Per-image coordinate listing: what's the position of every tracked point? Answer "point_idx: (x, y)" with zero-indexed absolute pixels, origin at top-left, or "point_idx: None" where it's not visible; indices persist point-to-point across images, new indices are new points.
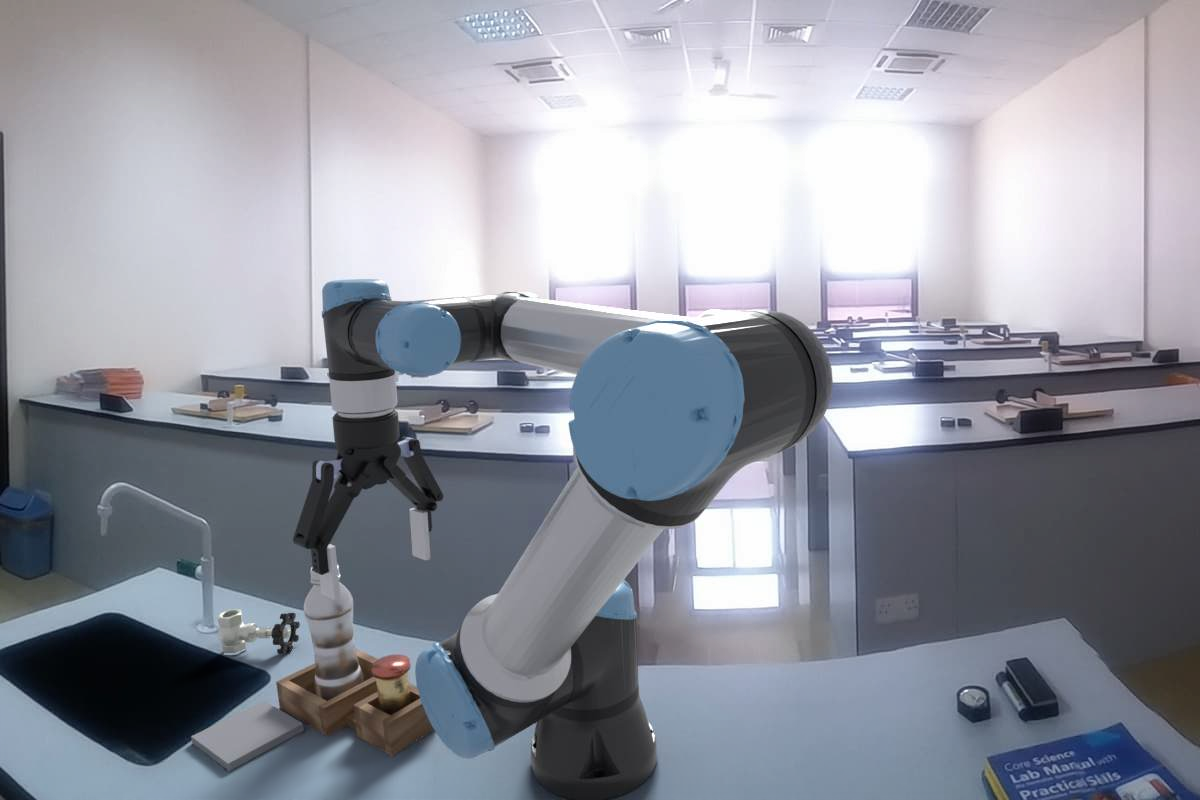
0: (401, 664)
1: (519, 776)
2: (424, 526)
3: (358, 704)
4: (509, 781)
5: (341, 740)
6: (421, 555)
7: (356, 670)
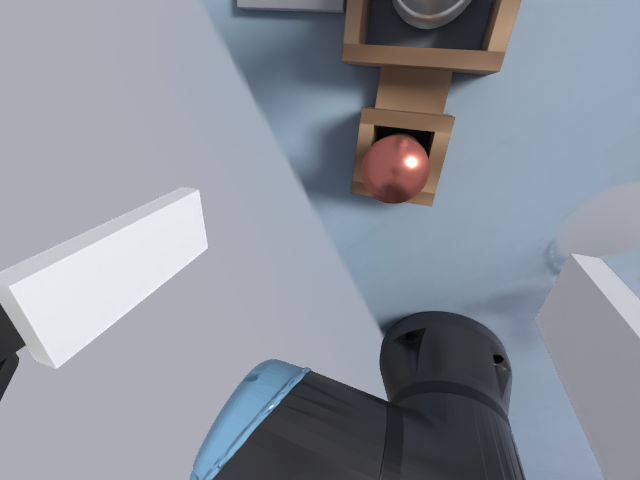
0: (400, 190)
1: (389, 312)
2: (609, 474)
3: (365, 115)
4: (380, 307)
5: (353, 93)
6: (549, 311)
7: (447, 9)
